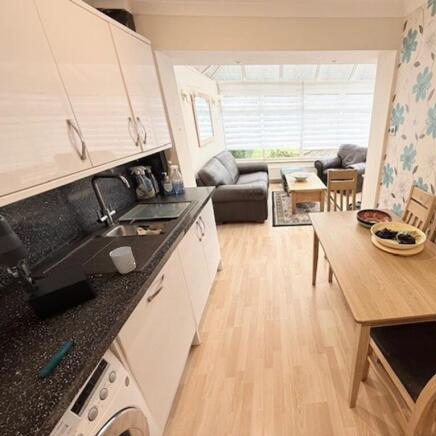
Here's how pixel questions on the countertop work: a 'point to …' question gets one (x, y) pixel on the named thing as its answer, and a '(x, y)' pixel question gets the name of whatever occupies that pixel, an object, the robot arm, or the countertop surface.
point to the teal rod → (55, 359)
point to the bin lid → (55, 283)
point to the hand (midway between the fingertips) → (31, 288)
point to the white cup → (123, 259)
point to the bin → (63, 299)
